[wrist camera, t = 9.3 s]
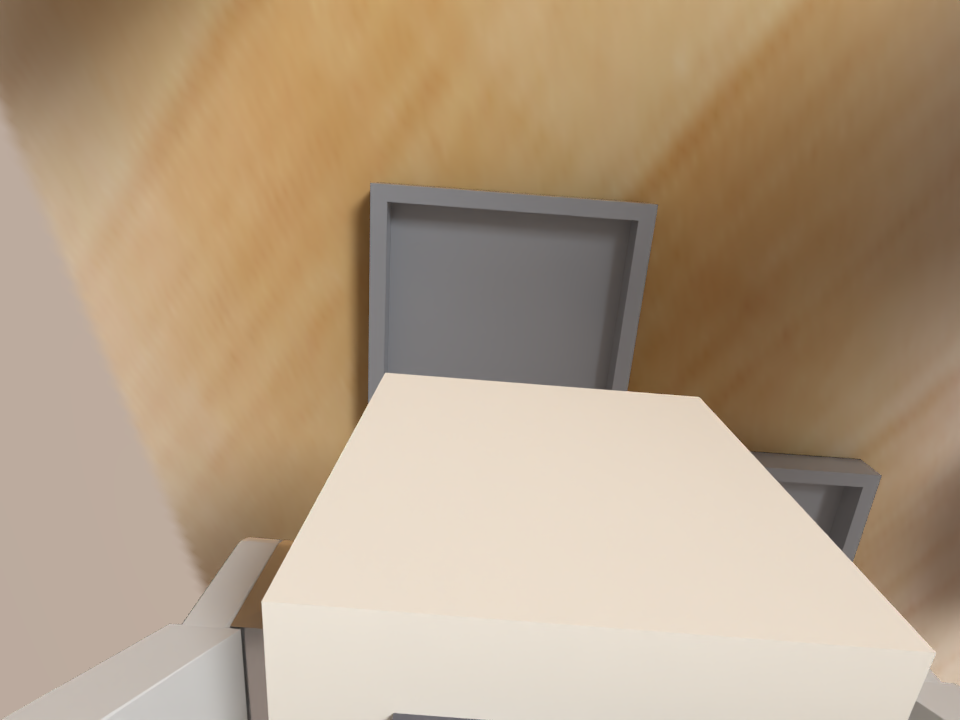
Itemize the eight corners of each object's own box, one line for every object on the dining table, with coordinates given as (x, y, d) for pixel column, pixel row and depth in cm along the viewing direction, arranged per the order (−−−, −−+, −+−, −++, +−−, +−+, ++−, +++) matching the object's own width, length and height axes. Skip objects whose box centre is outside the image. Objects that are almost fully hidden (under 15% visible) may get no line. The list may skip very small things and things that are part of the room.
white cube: (708, 397, 9) (973, 672, 4) (654, 644, 10) (797, 1057, 6) (384, 372, 9) (253, 615, 4) (379, 623, 10) (279, 1020, 6)
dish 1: (647, 202, 21) (658, 204, 20) (608, 445, 24) (615, 461, 23) (377, 182, 21) (370, 182, 20) (374, 428, 24) (367, 443, 23)
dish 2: (860, 459, 24) (881, 475, 23) (801, 643, 28) (817, 667, 26) (627, 442, 24) (635, 457, 23) (595, 630, 27) (600, 653, 26)
